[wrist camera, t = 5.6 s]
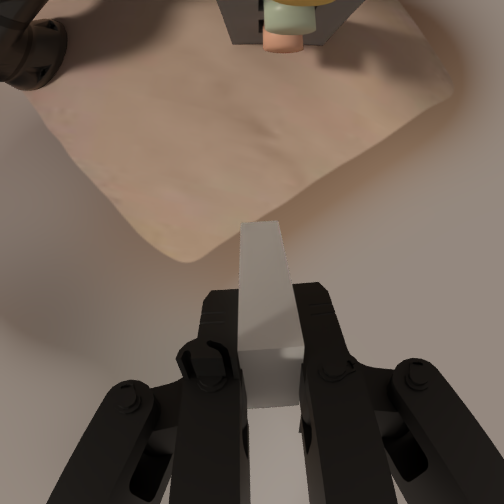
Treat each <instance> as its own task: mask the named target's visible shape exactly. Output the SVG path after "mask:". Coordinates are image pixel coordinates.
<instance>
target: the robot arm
mask: <svg viewBox="0 0 504 504" xmlns="http://www.w3.org/2000/svg"><path fill="white" fill-rule="evenodd" d="M47 2H48V0H0V82H5V83H7V84H9V85H11V86H12V87H14V88H16V89H18V90H23V91H31V90H36V89H38V88H40V87H42V86H43V85H45V84H46V83H47V82H48V81H49V80H50V79H51V78H52V77H53V76H54V74H55V73H56V72H57V70H58V68H59V67H60V65H61V63H62V60H63V58H64V55H65V51H66V46H67V34H66V31H65V28H64V27H63V25H62V24H61V23H59V22H57V21H54V20H51V19H40V20H34V21H32V20H33V19H34V18H35V16H36V15H37V14H38V13H39V11H40V10H41V9H42V8H43V6H44V5H45V4H46V3H47ZM240 234H241V235H240V267H239V268H240V269H239V289H230V290H212V291H211V292H210V293H209V294H208V296H207V297H206V298H205V299H204V301H203V306H202V315H201V319H200V325H199V331H198V337H197V338H196V339H194V340H192V341H190V342H188V343H186V344H185V345H184V346H183V347H182V348H181V349H180V350H179V352H178V354H177V357H176V361H177V363H178V366H179V368H180V370H181V373H182V376H183V378H181V379H179V380H178V381H176V382H174V383H170V384H167V385H163V386H159V387H154V388H149V386H148V385H146V384H145V383H143V382H141V381H137V380H127V381H123V382H120V383H118V384H117V385H115V386H114V387H112V388H111V389H110V391H109V392H108V393H107V395H106V396H105V398H104V399H103V402H102V403H101V404H100V406H99V408H98V410H97V411H96V413H95V415H94V417H93V418H92V420H91V422H90V423H89V425H88V427H87V429H86V431H85V432H84V434H83V436H82V437H81V439H80V442H79V443H78V445H77V447H76V448H75V450H74V452H73V454H72V456H71V457H70V459H69V461H68V463H67V465H66V467H65V468H64V471H63V472H62V474H61V476H60V478H59V480H58V482H57V484H56V486H55V488H54V490H53V491H52V493H51V495H50V497H49V500H48V501H47V503H46V504H160V502H161V500H162V497H163V495H164V492H165V490H166V487H167V485H168V482H169V479H170V477H171V486H170V496H169V504H250V462H249V425H248V420H247V409H251V408H252V409H253V408H269V407H283V406H294V405H299V400H300V407H301V420H300V427H299V433H302V440H303V447H304V456H305V465H306V474H307V483H308V491H309V502H310V504H398V503H397V498H396V494H395V489H394V485H393V480H392V476H393V478H394V480H395V482H396V483H397V485H398V487H399V489H400V491H401V492H402V494H403V496H404V498H405V500H406V501H407V503H408V504H504V459H503V457H502V456H501V454H500V453H499V451H498V450H497V449H496V447H495V446H494V444H493V443H492V441H491V440H490V438H489V437H488V436H487V434H486V433H485V431H484V430H483V429H482V427H481V426H480V424H479V423H478V422H477V420H476V419H475V417H474V416H473V415H472V413H471V412H470V411H469V409H468V408H467V407H466V405H465V404H464V403H463V401H462V400H461V399H460V398H459V396H458V395H457V394H456V392H455V391H454V390H453V388H452V387H451V386H450V384H449V383H448V382H447V381H446V379H445V378H444V377H443V376H442V374H441V373H440V372H439V371H438V369H437V368H436V367H435V366H433V365H432V364H431V363H430V362H428V361H426V360H423V359H418V358H410V359H407V360H403V361H402V362H401V363H399V364H398V365H397V366H396V368H395V370H392V369H382V368H373V367H369V366H365V365H363V364H361V363H359V362H358V361H357V360H356V359H355V358H354V357H353V356H351V355H350V353H349V351H348V349H347V347H346V344H345V340H344V337H343V335H342V331H341V328H340V325H339V322H338V320H337V316H336V314H335V310H334V308H333V305H332V302H331V299H330V296H329V293H328V291H327V290H326V289H325V288H324V287H323V286H322V285H321V284H320V283H319V282H314V283H301V284H292V282H291V277H290V273H289V268H288V263H287V258H286V254H285V249H284V245H283V240H282V236H281V231H280V227H279V223H278V221H263V222H248V223H241V233H240ZM391 474H392V476H391ZM171 475H172V476H171Z"/></svg>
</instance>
